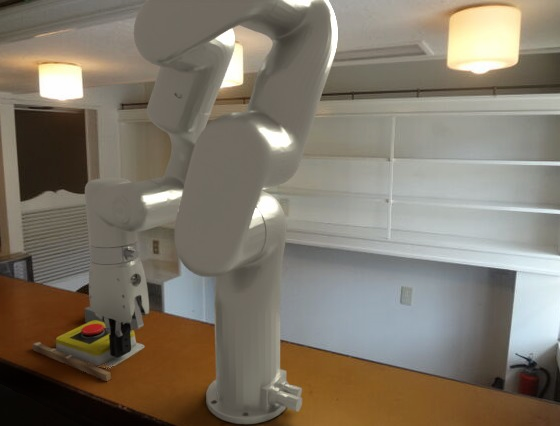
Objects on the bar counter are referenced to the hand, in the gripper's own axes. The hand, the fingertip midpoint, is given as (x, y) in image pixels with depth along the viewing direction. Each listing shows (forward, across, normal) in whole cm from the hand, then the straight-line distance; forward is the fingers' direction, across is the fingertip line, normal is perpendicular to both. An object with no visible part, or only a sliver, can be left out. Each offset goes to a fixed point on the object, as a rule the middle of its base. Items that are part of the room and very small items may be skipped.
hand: (121, 353), depth 77 cm
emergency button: (+2, +7, -1) cm, 7 cm away
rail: (+1, +6, +6) cm, 9 cm away
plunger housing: (+1, +14, -10) cm, 18 cm away
